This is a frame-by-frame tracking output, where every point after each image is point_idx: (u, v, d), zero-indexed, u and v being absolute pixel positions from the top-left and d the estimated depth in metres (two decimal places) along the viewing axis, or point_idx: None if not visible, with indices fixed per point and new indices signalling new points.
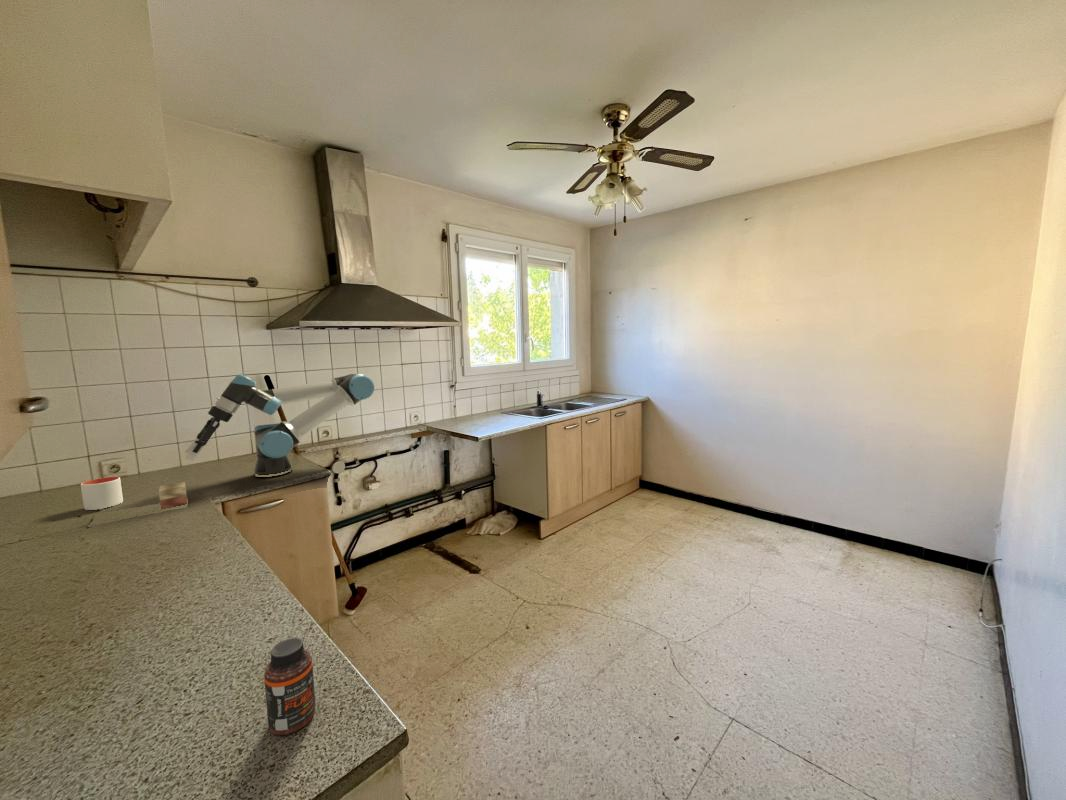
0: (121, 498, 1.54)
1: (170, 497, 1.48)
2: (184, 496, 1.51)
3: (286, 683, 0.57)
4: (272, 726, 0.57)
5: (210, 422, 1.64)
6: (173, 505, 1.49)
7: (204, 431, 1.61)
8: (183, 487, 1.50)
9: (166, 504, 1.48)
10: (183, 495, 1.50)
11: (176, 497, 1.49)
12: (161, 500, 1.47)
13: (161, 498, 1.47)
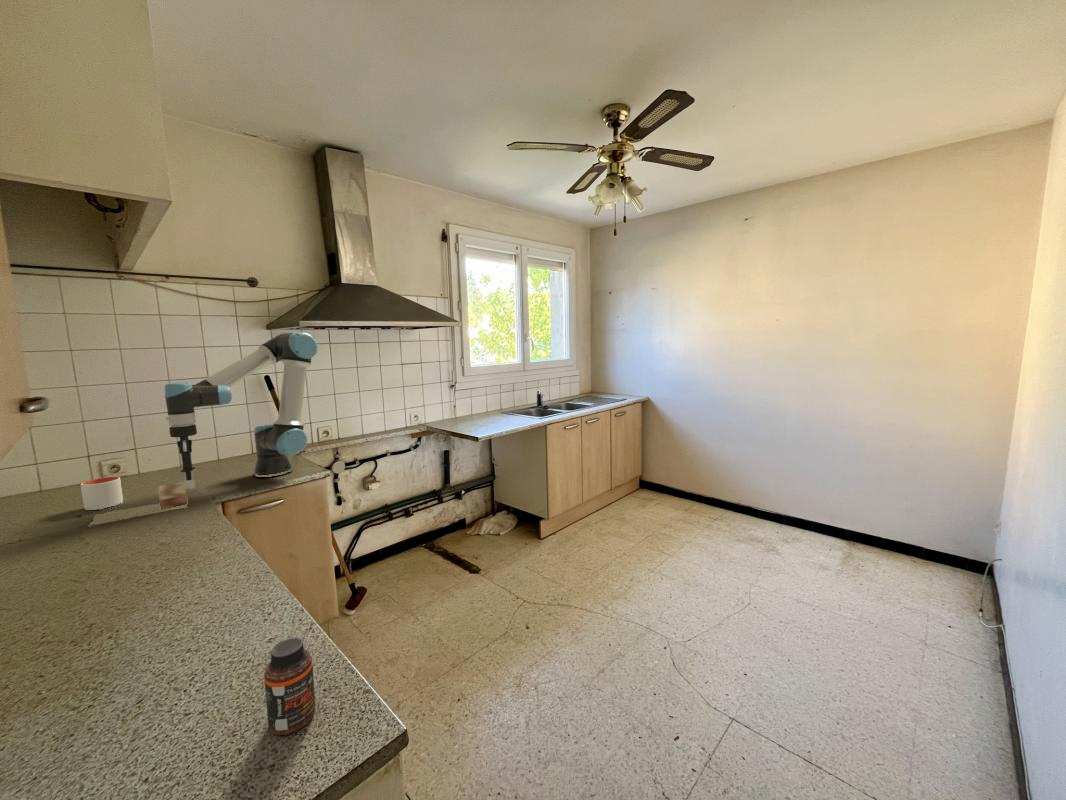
0: (121, 498, 1.54)
1: (170, 497, 1.48)
2: (184, 496, 1.50)
3: (286, 683, 0.57)
4: (272, 726, 0.57)
5: (180, 444, 1.50)
6: (173, 505, 1.49)
7: None
8: (182, 487, 1.50)
9: (166, 503, 1.48)
10: (183, 495, 1.50)
11: (176, 496, 1.49)
12: (161, 500, 1.47)
13: (161, 498, 1.47)
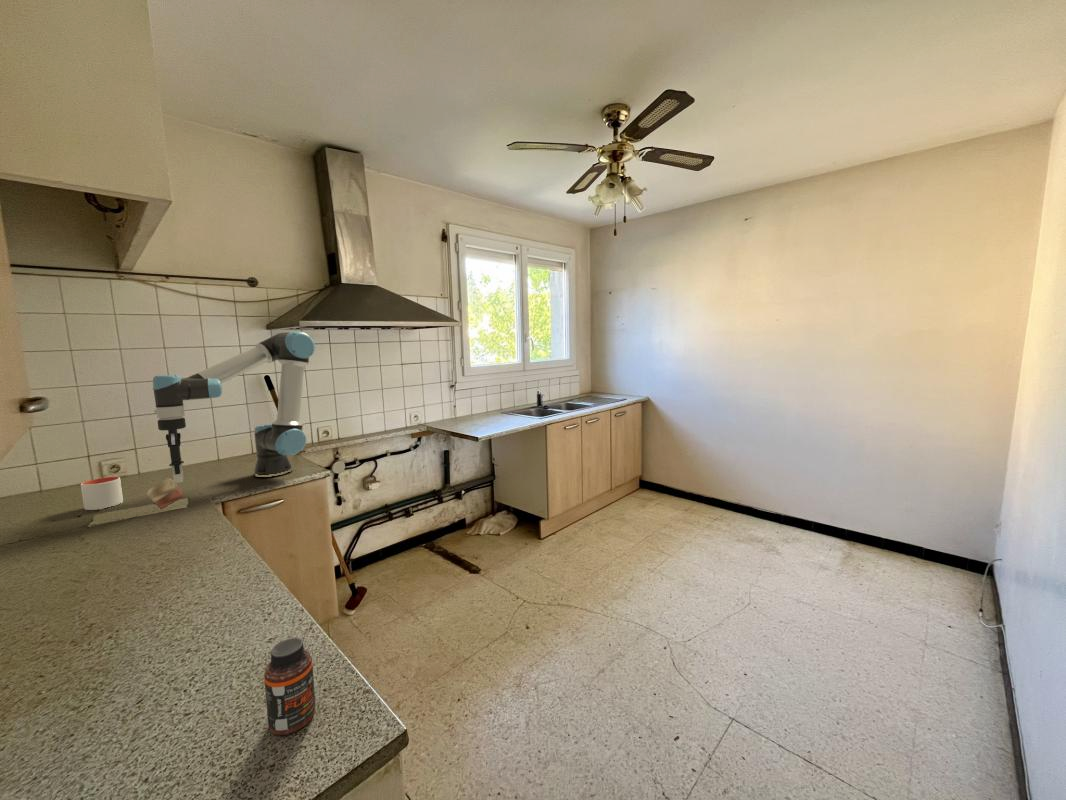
0: (121, 498, 1.54)
1: (162, 496, 1.47)
2: (175, 490, 1.49)
3: (286, 683, 0.57)
4: (272, 726, 0.57)
5: (168, 438, 1.48)
6: (170, 502, 1.48)
7: None
8: (169, 483, 1.48)
9: (162, 503, 1.47)
10: (174, 490, 1.49)
11: (168, 493, 1.48)
12: (155, 502, 1.46)
13: (154, 500, 1.46)
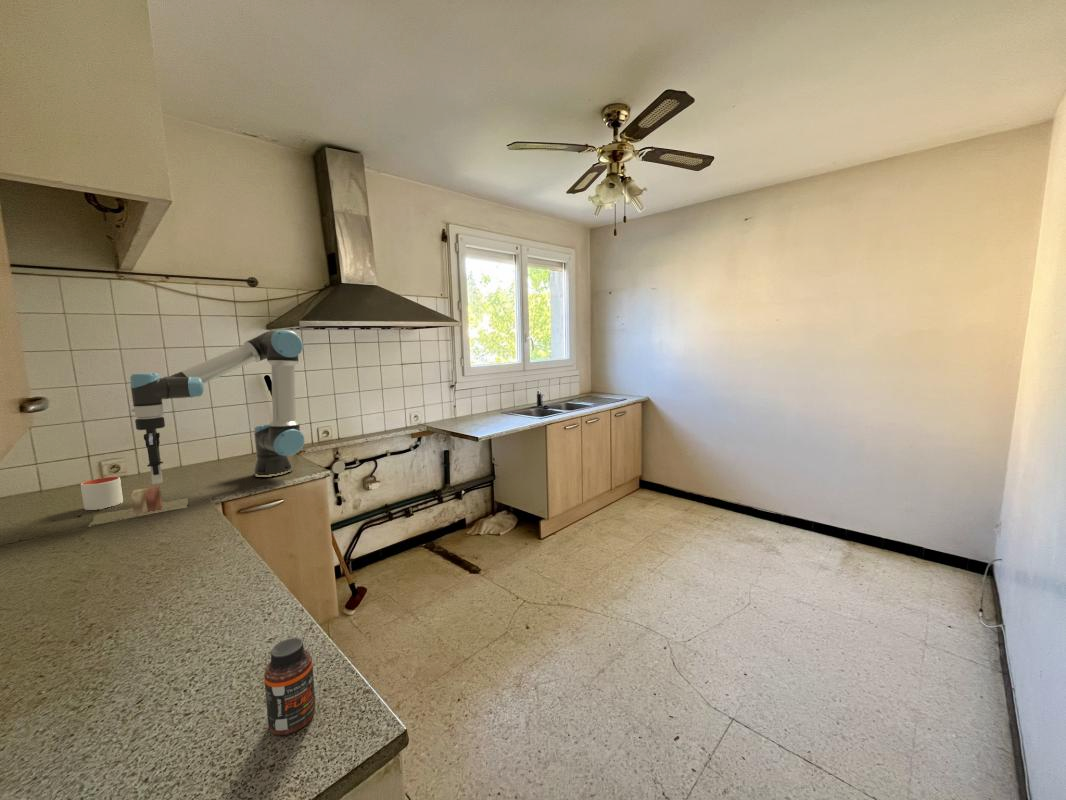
0: (121, 498, 1.54)
1: (145, 504, 1.44)
2: (146, 493, 1.44)
3: (286, 683, 0.57)
4: (272, 726, 0.57)
5: (146, 437, 1.44)
6: (157, 500, 1.46)
7: None
8: (133, 495, 1.42)
9: (154, 506, 1.46)
10: (145, 494, 1.44)
11: (146, 499, 1.44)
12: (148, 511, 1.45)
13: (145, 511, 1.44)
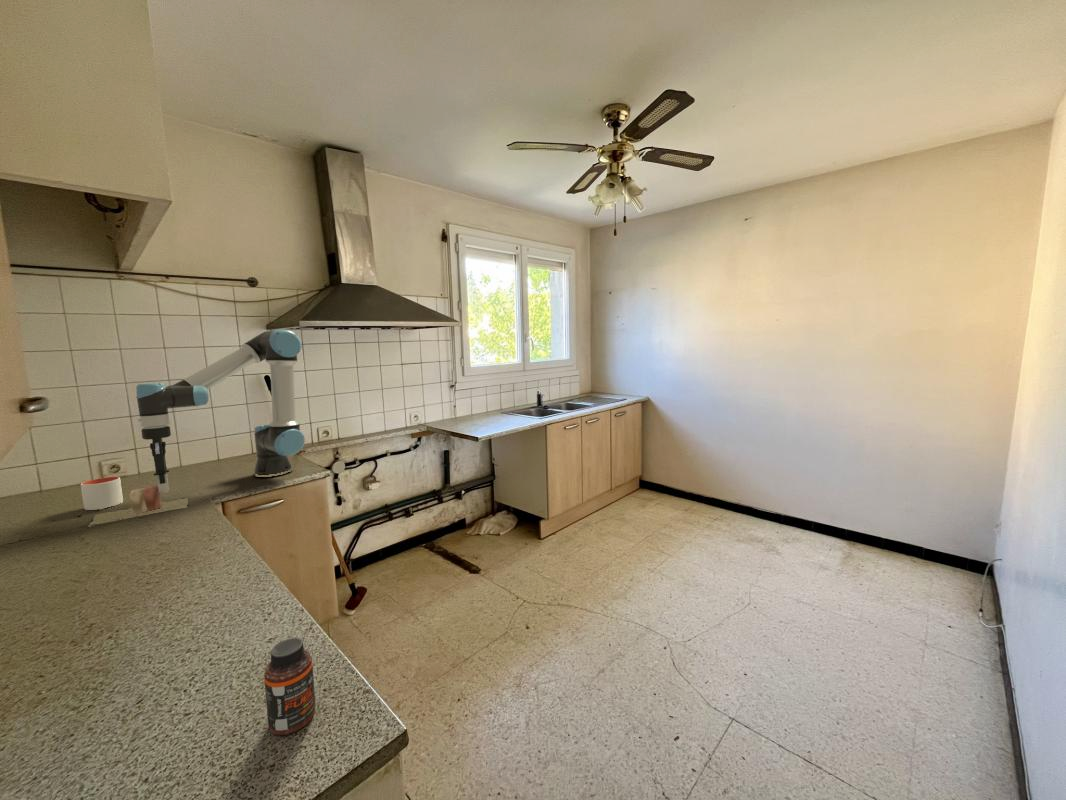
0: (121, 498, 1.54)
1: (144, 504, 1.44)
2: (144, 493, 1.44)
3: (286, 683, 0.57)
4: (272, 726, 0.57)
5: None
6: (156, 499, 1.46)
7: None
8: (131, 496, 1.42)
9: (153, 505, 1.45)
10: (143, 493, 1.44)
11: (144, 499, 1.44)
12: (148, 510, 1.45)
13: (145, 510, 1.44)
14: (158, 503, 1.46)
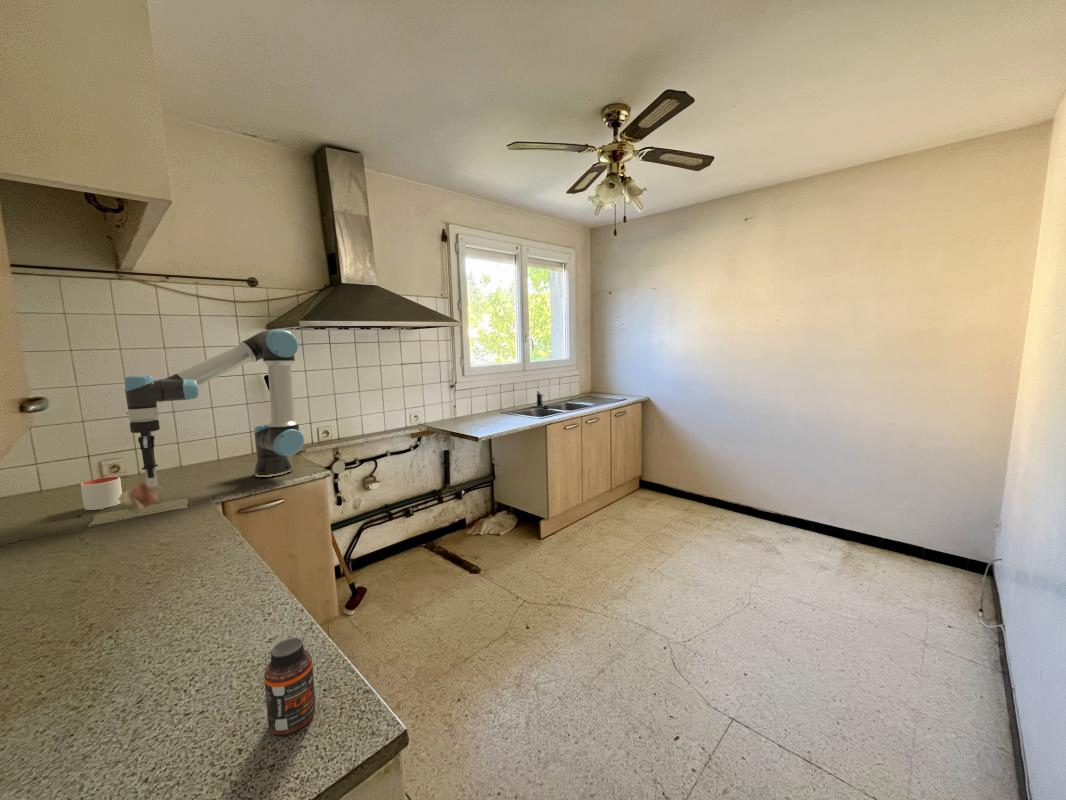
0: None
1: (138, 502, 1.43)
2: (131, 493, 1.42)
3: (286, 683, 0.57)
4: (272, 726, 0.57)
5: None
6: (147, 495, 1.44)
7: None
8: (120, 499, 1.40)
9: (148, 501, 1.44)
10: (131, 493, 1.42)
11: (136, 498, 1.43)
12: (145, 506, 1.44)
13: (142, 507, 1.44)
14: (151, 497, 1.45)
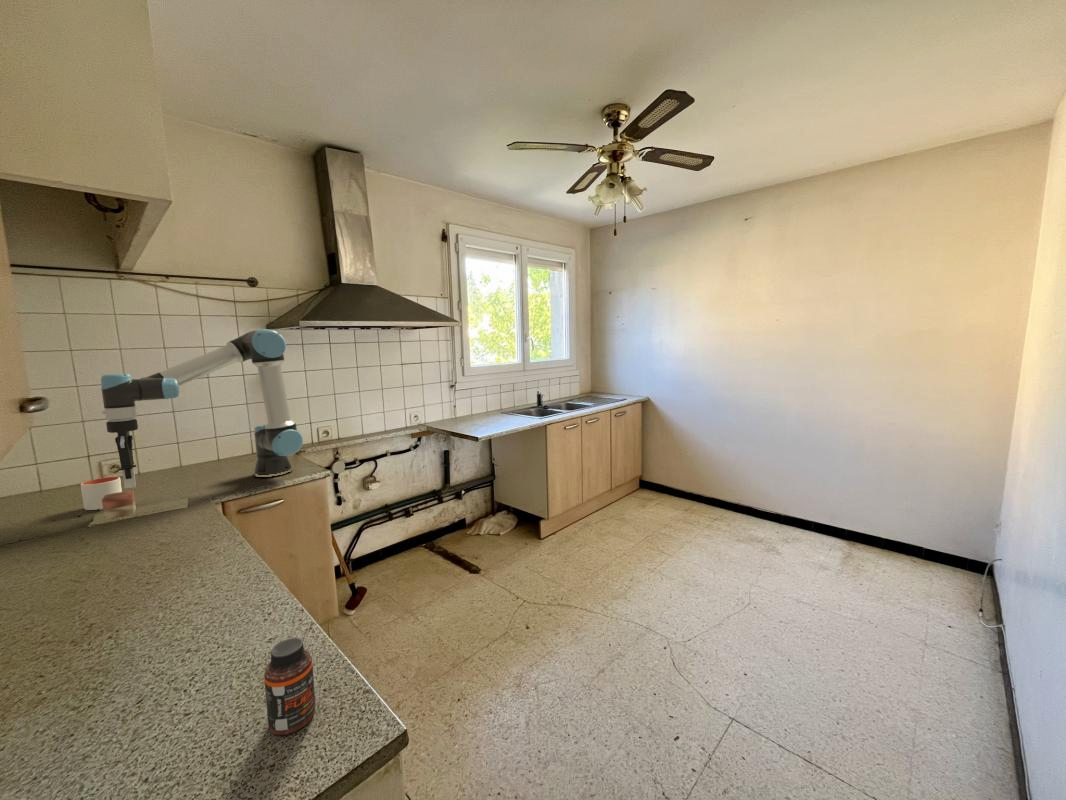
0: None
1: (121, 507, 1.40)
2: (104, 509, 1.38)
3: (286, 683, 0.57)
4: (272, 726, 0.57)
5: None
6: (117, 499, 1.40)
7: None
8: (106, 518, 1.38)
9: (125, 500, 1.41)
10: (105, 509, 1.38)
11: (114, 507, 1.40)
12: (130, 504, 1.42)
13: (130, 506, 1.42)
14: (123, 497, 1.41)
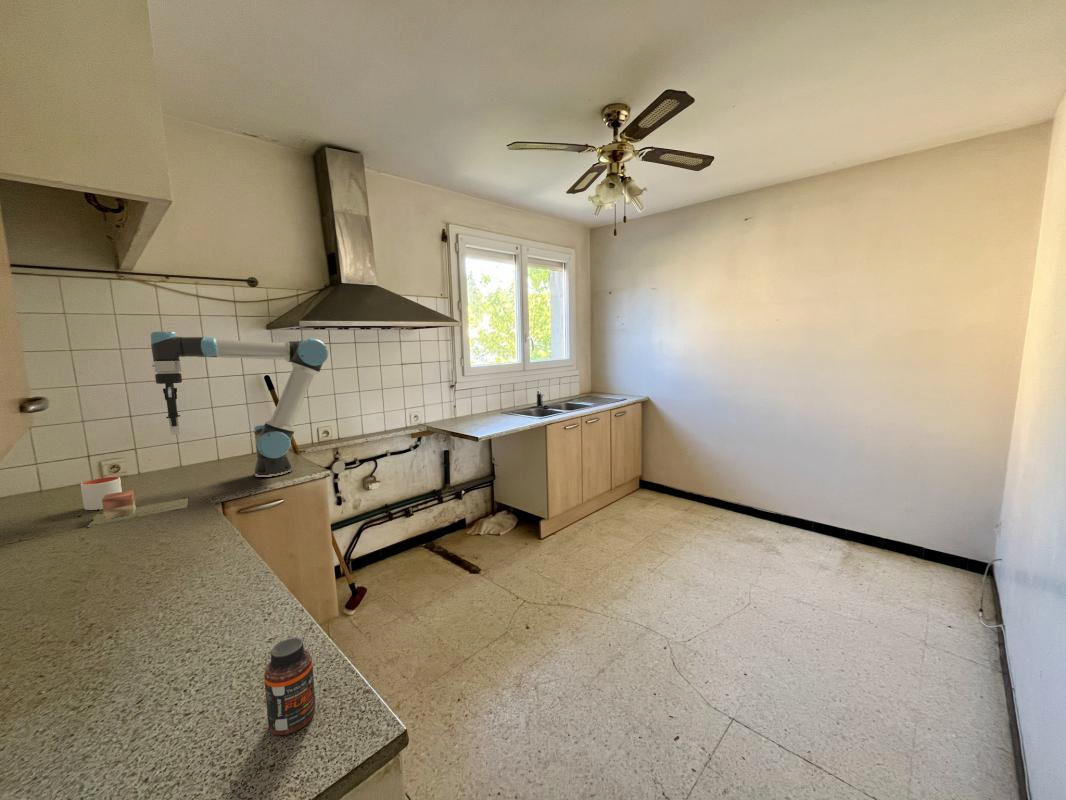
0: None
1: (121, 507, 1.40)
2: (104, 509, 1.38)
3: (286, 683, 0.57)
4: (272, 726, 0.57)
5: (165, 391, 1.56)
6: (117, 499, 1.40)
7: None
8: (106, 518, 1.38)
9: (125, 500, 1.41)
10: (105, 509, 1.38)
11: (114, 507, 1.40)
12: (130, 504, 1.42)
13: (130, 506, 1.42)
14: (123, 497, 1.41)
